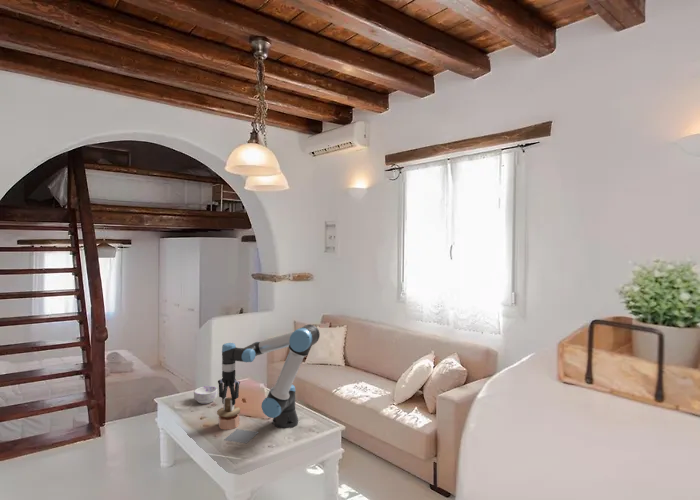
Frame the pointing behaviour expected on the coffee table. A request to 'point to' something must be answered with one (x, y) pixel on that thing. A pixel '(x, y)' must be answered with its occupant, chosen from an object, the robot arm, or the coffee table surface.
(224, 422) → the bowl
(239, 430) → the mat
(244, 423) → the coffee table surface
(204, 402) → the paper bowls
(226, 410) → the lid
